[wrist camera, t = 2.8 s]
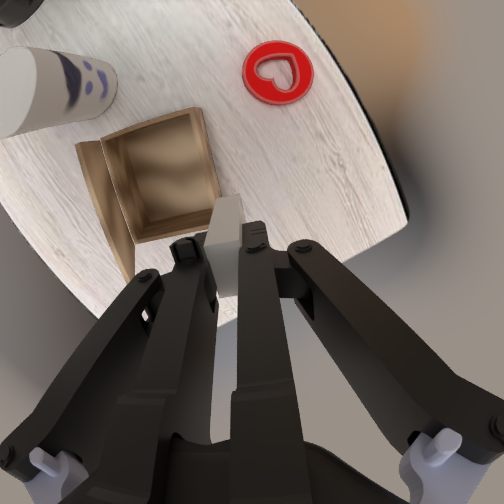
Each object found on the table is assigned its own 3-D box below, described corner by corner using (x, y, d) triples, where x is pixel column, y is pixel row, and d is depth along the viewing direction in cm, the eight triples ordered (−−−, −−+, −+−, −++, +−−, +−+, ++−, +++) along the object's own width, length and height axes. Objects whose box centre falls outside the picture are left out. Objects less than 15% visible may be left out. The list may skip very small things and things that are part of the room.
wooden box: (120, 132, 36) (100, 138, 30) (200, 107, 35) (193, 107, 29) (148, 225, 44) (135, 244, 38) (224, 208, 43) (221, 226, 37)
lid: (99, 140, 29) (95, 141, 29) (79, 142, 19) (73, 144, 19) (134, 245, 36) (130, 247, 36) (135, 290, 26) (130, 292, 26)
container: (126, 98, 34) (46, 99, 16) (78, 130, 35) (-8, 157, 17) (106, 49, 29) (25, 27, 11) (59, 84, 30) (-27, 89, 13)
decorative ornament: (314, 54, 32) (320, 50, 29) (301, 111, 36) (306, 111, 34) (249, 39, 31) (250, 33, 28) (236, 98, 35) (236, 96, 32)
